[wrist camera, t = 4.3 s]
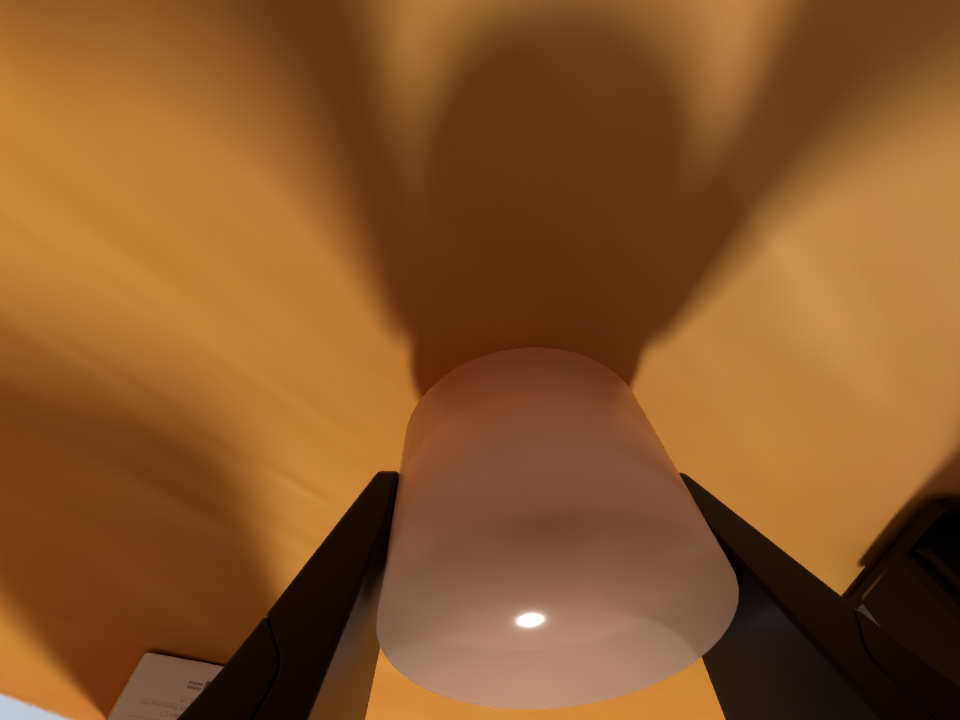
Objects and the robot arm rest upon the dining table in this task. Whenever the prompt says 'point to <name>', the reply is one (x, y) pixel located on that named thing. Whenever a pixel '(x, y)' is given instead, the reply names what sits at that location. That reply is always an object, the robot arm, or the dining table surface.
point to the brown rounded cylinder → (544, 541)
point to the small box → (162, 688)
